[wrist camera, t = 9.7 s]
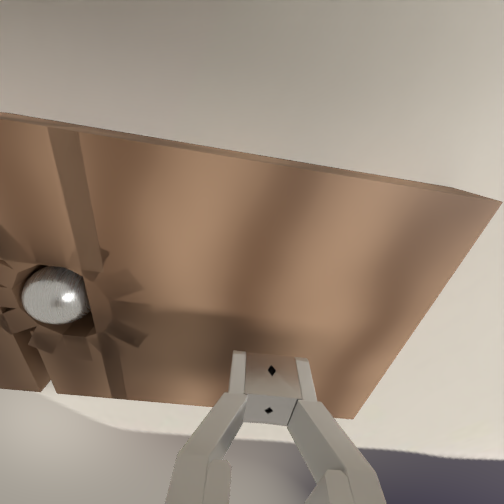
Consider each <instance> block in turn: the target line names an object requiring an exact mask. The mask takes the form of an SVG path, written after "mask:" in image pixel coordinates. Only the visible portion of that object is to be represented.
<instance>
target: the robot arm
mask: <svg viewBox="0 0 504 504" xmlns="http://www.w3.org/2000/svg"><path fill="white" fill-rule="evenodd" d="M243 422H250V423H265V424H273V425H281V426H287V428H288V430H289V432H290V434H291V436H292V438H293V440H294V442H295V444H296V446H297V448H298V449H299V451H300V453H301V455H302V457H303V459H304V461H305V463H306V465H307V466H308V468H309V470H310V472H311V474H312V476H313V478H314V480H315V482H316V484H317V486H316V487H315V488H314V490H313V491H312V493H311V494H310V495H309V497H308V498H307V500H306V502H305V504H386V501H385V498H384V495H383V492H382V489H381V486H380V483H379V480H378V477H377V474H376V472H375V471H374V469H373V468H372V467H371V465H370V464H369V463H368V462H367V460H366V459H365V458H364V456H363V455H362V454H361V453H360V451H359V450H358V449H357V447H356V446H355V445H354V443H353V442H352V441H351V440H350V438H349V437H348V436H347V434H346V433H345V432H344V431H343V429H342V428H341V427H340V425H339V424H338V423H337V422H336V420H335V419H334V418H333V416H332V415H331V414H330V412H329V411H328V410H327V409H326V407H325V406H324V405H323V403H322V402H319V401H317V397H316V393H315V388H314V384H313V379H312V374H311V370H310V365H309V361H308V359H307V358H301V357H294V356H283V355H272V354H270V355H268V354H260V353H252V352H245V351H235V350H234V351H233V356H232V364H231V372H230V379H229V388H228V392H224V394H223V395H222V396H221V398H220V399H219V400H218V401H217V403H216V404H215V405H214V407H213V408H212V409H211V411H210V412H209V413H208V415H207V416H206V417H205V419H204V420H203V421H202V423H201V424H200V425H199V426H198V428H197V429H196V430H195V432H194V433H193V434H192V436H191V437H190V438H189V440H188V441H187V443H186V444H185V445H184V446H183V448H182V449H181V450H180V451H179V453H178V454H177V458H176V462H175V466H174V470H173V474H172V478H171V481H170V485H169V489H168V493H167V497H166V501H165V504H229V496H230V483H231V468H232V467H231V465H230V463H229V462H228V461H227V460H222V459H223V457H224V456H225V454H226V452H227V450H228V449H229V447H230V445H231V443H232V441H233V440H234V438H235V436H236V434H237V433H238V431H239V429H240V427H241V426H242V424H243Z"/></svg>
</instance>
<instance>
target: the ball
mask: <svg viewBox="0 0 504 504" xmlns="http://www.w3.org/2000/svg"><path fill="white" fill-rule="evenodd" d="M22 304H23V306H24V309H25V310H26V311H27V313H28V314H29V315H30V316H31V317H33V318H34V319H36V320H38V321H40V322H43V323H47V324H66V323H70V322H74V321H76V320H78V319H80V318H82V317H84V316H85V315H87V314H88V313H89V312H90V311H91V308H90V304H89V300H88V296H87V292H86V288H85V283H84V279H83V276H81V275H79V274H77V273H75V272H73V271H71V270H69V269H67V268H63V267H55V266H46V267H44V268H42V269H40V270H38V271H37V272H36V273H34V274H33V275H32V276H31V277H30V278H29V279H28V280H27V282H26V283H25V285H24V287H23V290H22Z"/></svg>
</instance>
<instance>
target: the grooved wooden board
mask: <svg viewBox="0 0 504 504" xmlns="http://www.w3.org/2000/svg"><path fill="white" fill-rule="evenodd" d="M501 204H502V202H501V201H497V200H494V199H490V198H487V197H483V196H480V195H476V194H473V193H469V192H466V191H462V190H459V189H455V188H451V187H445V186H439V185H434V184H428V183H422V182H416V181H410V180H404V179H398V178H392V177H386V176H380V175H374V174H368V173H362V172H356V171H350V170H344V169H338V168H332V167H326V166H320V165H314V164H308V163H303V162H297V161H291V160H285V159H279V158H273V157H267V156H261V155H255V154H249V153H243V152H237V151H231V150H225V149H219V148H213V147H207V146H201V145H195V144H189V143H183V142H177V141H172V140H166V139H160V138H154V137H148V136H142V135H136V134H130V133H124V132H118V131H112V130H106V129H100V128H94V127H88V126H82V125H76V124H70V123H64V122H58V121H52V120H46V119H41V118H35V117H29V116H23V115H17V114H11V113H2V112H0V388H1V389H12V390H23V391H35V392H41V391H42V390H43V389H44V387H45V386H46V385H47V384H48V383H49V381H50V380H51V381H52V383H53V386H54V388H55V390H56V393H58V394H69V395H80V396H92V397H103V398H115V399H126V400H138V401H149V402H160V403H172V404H183V405H195V406H206V407H214V405H215V404H216V403H217V401H218V400H219V399H220V398H221V396H222V395H223V394H224V392H228V388H229V379H230V372H231V364H232V356H233V351H234V350H235V351H245V352H252V353H260V354H268V355H270V354H272V355H283V356H294V357H301V358H307V359H308V361H309V365H310V370H311V374H312V379H313V384H314V388H315V393H316V397H317V401H319V402H322V403H323V405H324V406H325V407H326V409H327V410H328V411H329V412H330V414H331V415H332V416H333V418H343V419H354V417H355V416H356V414H357V413H358V411H359V410H360V409H361V407H362V406H363V404H364V403H365V401H366V400H367V398H368V397H369V396H370V394H371V393H372V391H373V390H374V388H375V387H376V385H377V384H378V382H379V381H380V380H381V378H382V377H383V375H384V374H385V372H386V371H387V369H388V368H389V366H390V365H391V364H392V362H393V361H394V359H395V358H396V356H397V355H398V353H399V352H400V351H401V349H402V348H403V346H404V345H405V343H406V342H407V340H408V339H409V337H410V336H411V335H412V333H413V332H414V330H415V329H416V327H417V326H418V324H419V323H420V321H421V320H422V319H423V317H424V316H425V314H426V313H427V311H428V310H429V308H430V307H431V306H432V304H433V303H434V301H435V300H436V298H437V297H438V295H439V294H440V292H441V291H442V290H443V288H444V287H445V285H446V284H447V282H448V281H449V279H450V278H451V276H452V275H453V274H454V272H455V271H456V269H457V268H458V266H459V265H460V263H461V262H462V261H463V259H464V258H465V256H466V255H467V253H468V252H469V250H470V249H471V247H472V246H473V245H474V243H475V242H476V240H477V239H478V237H479V236H480V234H481V233H482V232H483V230H484V229H485V227H486V226H487V224H488V223H489V221H490V220H491V218H492V217H493V216H494V214H495V213H496V211H497V210H498V208H499V207H500V205H501ZM46 266H55V267H63V268H67V269H69V270H71V271H73V272H75V273H77V274H79V275H81V276H83V279H84V283H85V288H86V292H87V296H88V300H89V304H90V308H91V311H90V312H89V313H88V314H87V315H85V316H84V317H82V318H80V319H78V320H76V321H74V322H70V323H66V324H47V323H43V322H40V321H38V320H36V319H34V318H33V317H31V316H30V315H29V314H28V313H27V311H26V310H25V309H24V306H23V304H22V290H23V287H24V285H25V283H26V282H27V280H28V279H29V278H30V277H31V276H32V275H33V274H34V273H36V272H37V271H38V270H40V269H42V268H44V267H46Z"/></svg>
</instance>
